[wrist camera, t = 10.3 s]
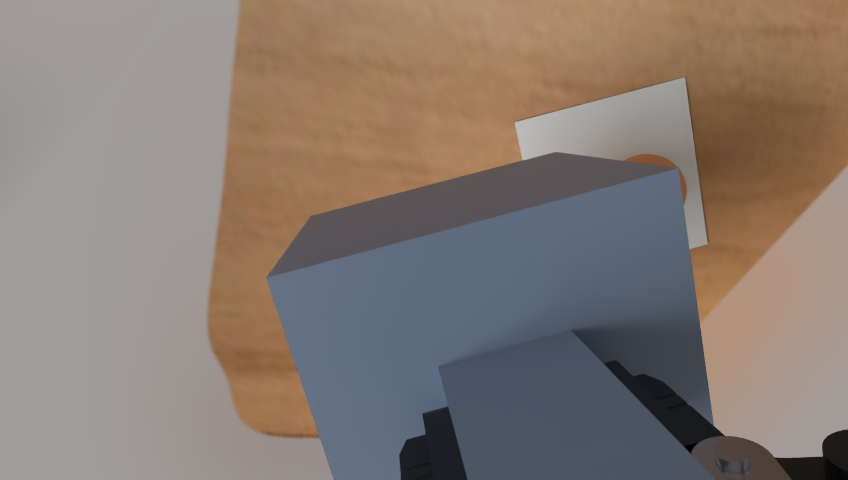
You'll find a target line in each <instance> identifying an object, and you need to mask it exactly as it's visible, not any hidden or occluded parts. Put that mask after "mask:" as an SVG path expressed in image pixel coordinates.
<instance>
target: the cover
mask: <svg viewBox="0 0 848 480" xmlns="http://www.w3.org/2000/svg"><path fill="white" fill-rule="evenodd" d="M267 281H268V284H269V287H270V290H271V293H272V296H273V299H274V302H275V305H276V308H277V311H278V314H279V317H280V320H281V323H282V326H283V329H284V332H285V335H286V338H287V341H288V344H289V347H290V350H291V353H292V356H293V359H294V362H295V365H296V368H297V371H298V374H299V377H300V380H301V383H302V386H303V389H304V392H305V395H306V398H307V401H308V404H309V407H310V410H311V413H312V416H313V419H314V422H315V425H316V428H317V430H318V433H319V436H320V439H321V442H322V445H323V448H324V451H325V454H326V457H327V460H328V463H329V466H330V469H331V472H332V475H333V478H334V480H401V474H400V473H401V471H400V460H399V454H400V452H401V450H402V448H403V446H404V444H405V442H406V440H407V439H410V438H414V437H417V436H421V435H425V428H424V422H423V415H422V413H425V412H429V411H433V410H436V409H440V408H443V407H447V406H448V407H449V411H450V415H451V419H452V422H453V426H454V430H455V434H456V438H457V441H458V445H459V449H460V453H461V456H462V460H463V464H464V468H465V472H466V475H467V479H468V480H716V479H715V478H714V477H713V476H712V475H711V474H710V473H709V472H708V471H707V470H706V469H705V468H704V467H703V466H702V465H701V464H700V463H699V462H698V461H697V460H696V459H695V458H694V457H693V456H692V455H691V454H690V453H689V452H688V451H687V450H686V448H685V447H684V446H683V445H682V444H681V443H680V442H679V441H678V440H677V439H676V438H675V437H674V436H673V435H672V434H671V433H670V432H669V431H668V430H667V429H666V428H665V427H664V426H663V425H662V424H661V423H660V422H659V421H658V420H657V419H656V418H655V416H654V415H653V414H652V413H651V412H650V411H649V410H648V409H647V408H646V407H645V406H644V405H643V404H642V403H641V402H640V401H639V400H638V399H637V398H636V397H635V396H634V395H633V394H632V393H631V392H630V391H629V390H628V389H627V388H626V387H625V386H624V384H623V383H622V382H621V381H620V380H619V379H618V378H617V377H616V376H615V375H614V374H613V373H612V372H611V371H610V370H609V369H608V368H607V367H606V366H605V365H604V364H603V363H606V362H610V361H613V360H616V361H618V362H619V363H620V364H621V365H622V366H623V367H624V368H625V369H626V370H627V371H628V372H629V373H630V374H631V375H633V376H636V375H640V374H646V375H648V376H651V377H653V378H656V379H659V380H661V381H663V382H664V383H665V384H667V385H668V386H669V387H670V388H671V389H672V390H673V391H675V392H676V394H677V395H679V396H680V397H681V398H683V399H684V400H685V401H686V402H687V404H688V405H690V406H692V407H693V408H694V409H695V410H696V411H697V412H698V413H700V414H701V415H702V416H703V417H704V418H705V419H706V420H708V421H709V422H710V423H711V424H712V425H713V426H714V424H713V418H712V410H711V402H710V395H709V388H708V380H707V373H706V366H705V359H704V351H703V344H702V337H701V329H700V322H699V315H698V307H697V300H696V293H695V286H694V278H693V271H692V264H691V256H690V249H689V242H688V234H687V227H686V220H685V213H684V205H683V198H682V191H681V183H680V176H679V169H678V168H673V167H665V166H658V165H650V164H643V163H636V162H628V161H621V160H613V159H606V158H598V157H591V156H583V155H576V154H568V153H561V152H553V153H550V154H546V155H542V156H538V157H534V158H531V159H527V160H523V161H519V162H515V163H511V164H508V165H504V166H500V167H496V168H492V169H489V170H485V171H481V172H477V173H473V174H470V175H466V176H462V177H458V178H454V179H451V180H447V181H443V182H439V183H435V184H431V185H428V186H424V187H420V188H416V189H412V190H409V191H405V192H401V193H397V194H393V195H390V196H386V197H382V198H378V199H374V200H371V201H367V202H363V203H359V204H355V205H351V206H348V207H344V208H340V209H336V210H332V211H329V212H325V213H321V214H317V215H313V216H311V217H310V218H309V219H308V221H307V222H306V224H305V225H304V226H303V228H302V229H301V231H300V232H299V233H298V235H297V236H296V237H295V239H294V240H293V242H292V243H291V244H290V246H289V247H288V249H287V250H286V251H285V253H284V254H283V255H282V257H281V258H280V260H279V261H278V262H277V264H276V265H275V267H274V268H273V269H272V271H271V272H270V273H269V275H268V276H267Z"/></svg>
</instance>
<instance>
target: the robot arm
mask: <svg viewBox="0 0 848 480" xmlns="http://www.w3.org/2000/svg"><path fill="white" fill-rule="evenodd" d="M603 364H604V365H605V366H606V367H607V368H608V369H609V370H610V371H611V372H612V373H613V374H614V375H615V376H616V377H617V378H618V379H619V380H620V381H621V382H622V383H623V384H624V386H625V387H626V388H627V389H628V390H629V391H630V392H631V393H632V394H633V395H634V396H635V397H636V398H637V399H638V400H639V401H640V402H641V403H642V404H643V405H644V406H645V407H646V408H647V409H648V410H649V411H650V412H651V413H652V414H653V415H654V416H655V418H656V419H657V420H658V421H659V422H660V423H661V424H662V425H663V426H664V427H665V428H666V429H667V430H668V431H669V432H670V433H671V434H672V435H673V436H674V437H675V438H676V439H677V440H678V441H679V442H680V443H681V444H682V445H683V446H684V447H685V448H686V450H687V451H688V452H689V453H690V454H691V455H692V456H693V457H694V458H695V459H696V460H697V461H698V462H699V463H700V464H701V465H702V466H703V467H704V468H705V469H706V470H707V471H708V472H709V473H710V474H711V475H712V476H713V477H714V478H715V479H716V480H848V430H842V431H838V432H835V433H832V434H831V435H829V436H827V438H826V439H825V440H824V441H823V444H822V451H823V457H806V458H805V457H804V458H775V457H773V455H772V454H771V453H770V452H769V451H768V450H767V449H765V448H764V447H763V446H761V445H759V444H758V443H755V442H753V441H750V440H747V439H744V438H739V437H733V436H725V435H723V434H722V433H721V432H720V431H719V430H718V429H717V428H715V427H714V426H713V425H712V424H711V423H710V422H709V421H708V420H706V419H705V418H704V417H703V416H702V415H701V414H700V413H698V412H697V411H696V410H695V409H694V408H693V407H692V406H690V405H688V404H687V402H686V401H685V400H684V399H683V398H681V397H680V396H679V395H677V394H676V392H675V391H673V390H672V389H671V388H670V387H669V386H668V385H667V384H665V383H664V382H663V381H661V380H659V379H656V378H653V377H651V376H648V375H646V374H640V375H636V376H633V375H631V374H630V373H629V372H628V371H627V370H626V369H625V368H624V367H623V366H622V365H621V364H620V363H619V362H618V361H616V360H613V361H610V362H606V363H603ZM422 415H423V422H424V428H425V435H421V436H417V437H414V438H410V439H407V440H406V442H405V444H404V446H403V448H402V450H401V452H400V454H399V460H400V471H401V473H400V474H401V480H468V479H467V475H466V472H465V468H464V464H463V460H462V456H461V453H460V449H459V445H458V441H457V438H456V434H455V430H454V426H453V422H452V419H451V415H450V411H449V407H448V406H447V407H443V408H440V409H436V410H433V411H429V412H425V413H422Z"/></svg>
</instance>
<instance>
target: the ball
mask: <svg viewBox="0 0 848 480" xmlns="http://www.w3.org/2000/svg"><path fill="white" fill-rule="evenodd" d="M624 161H628V162H636V163H643V164H650V165H658V166H665V167H673V168H678V167H677V166H676V165H675V164H674V163H673V162H671V161H670V160H668V159H666V158H664V157H662V156H658V155H653V154H640V155H636V156H632V157H630V158H627V159H626V160H624ZM678 169H679V168H678ZM679 176H680V183H681V191H682V198H683V205H684V204H685V200H686V195H687V186H686V181H685V178H684V176H683V174H682V172H681V171H680V169H679Z"/></svg>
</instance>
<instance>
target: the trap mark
mask: <svg viewBox="0 0 848 480" xmlns="http://www.w3.org/2000/svg"><path fill="white" fill-rule="evenodd" d="M515 126H516V131H517V136H518V141H519V145H520V150H521V155H522V160H527V159H531V158H534V157H538V156H542V155H546V154H550V153H553V152H561V153H568V154H576V155H583V156H591V157H598V158H606V159H613V160H621V161H624V160H626V159H627V158H630V157H632V156H636V155H640V154H653V155H658V156H662V157H664V158H666V159H668V160H670V161H671V162H673V163H674V164H675V165H676V166H677V167H678V168H679V169H680V171H681V172H682V174H683V176H684V178H685V181H686V186H687V195H686V200H685V204H684V213H685V220H686V227H687V234H688V242H689V249H692V248H696V247H699V246H703V245H706V244H708V243H707V236H706V228H705V221H704V214H703V206H702V199H701V192H700V184H699V177H698V169H697V162H696V155H695V147H694V140H693V133H692V125H691V118H690V111H689V103H688V96H687V88H686V81H685V78H680V79H677V80H673V81H669V82H665V83H661V84H658V85H654V86H650V87H646V88H642V89H639V90H635V91H631V92H627V93H623V94H620V95H616V96H612V97H608V98H605V99H601V100H597V101H593V102H589V103H586V104H582V105H578V106H574V107H570V108H567V109H563V110H559V111H555V112H551V113H548V114H544V115H540V116H536V117H532V118H529V119H525V120H521V121H517V122H515Z"/></svg>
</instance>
